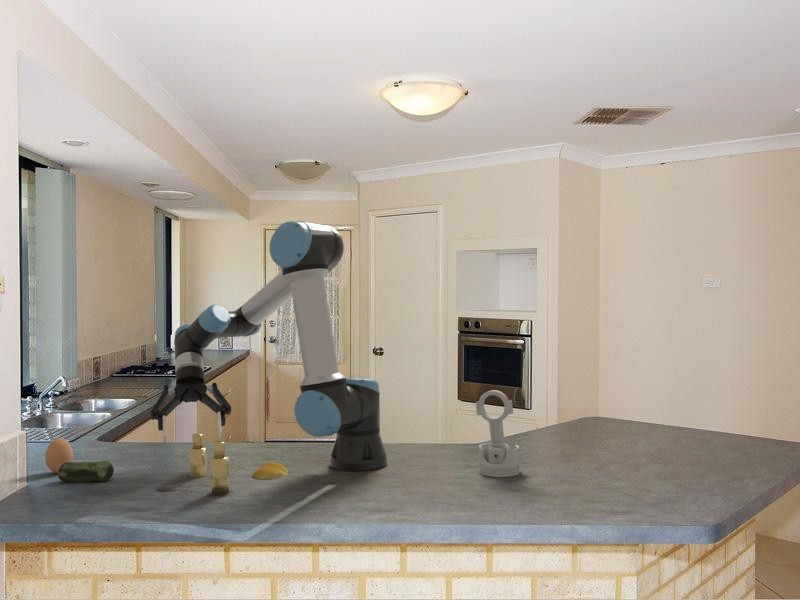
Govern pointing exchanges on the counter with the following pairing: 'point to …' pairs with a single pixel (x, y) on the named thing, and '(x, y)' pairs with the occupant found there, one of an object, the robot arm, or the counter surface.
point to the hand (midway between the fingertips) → (192, 437)
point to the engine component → (497, 442)
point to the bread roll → (270, 471)
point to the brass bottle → (197, 457)
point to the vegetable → (85, 471)
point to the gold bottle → (219, 470)
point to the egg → (58, 454)
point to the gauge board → (177, 487)
